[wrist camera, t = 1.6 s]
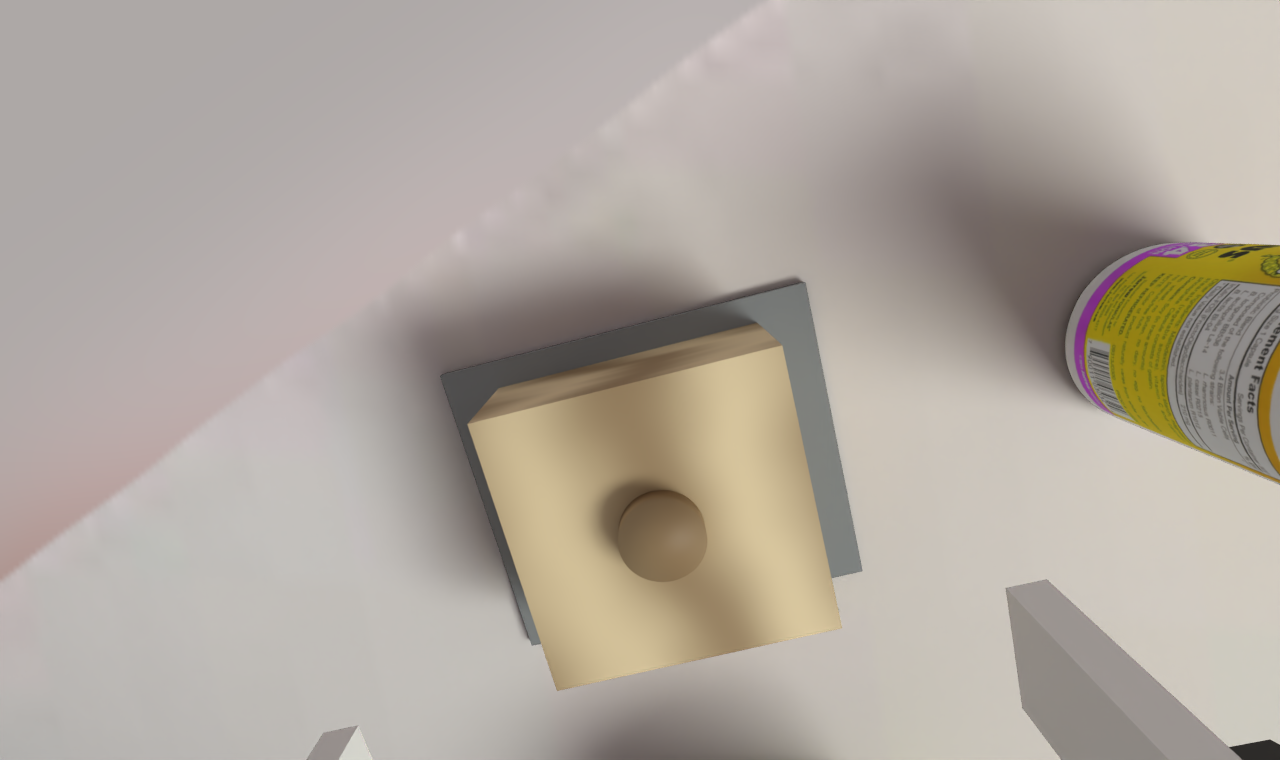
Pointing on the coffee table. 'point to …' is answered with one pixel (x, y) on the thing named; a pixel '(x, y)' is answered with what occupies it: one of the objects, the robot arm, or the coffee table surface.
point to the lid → (659, 506)
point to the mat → (771, 309)
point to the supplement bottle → (1187, 348)
